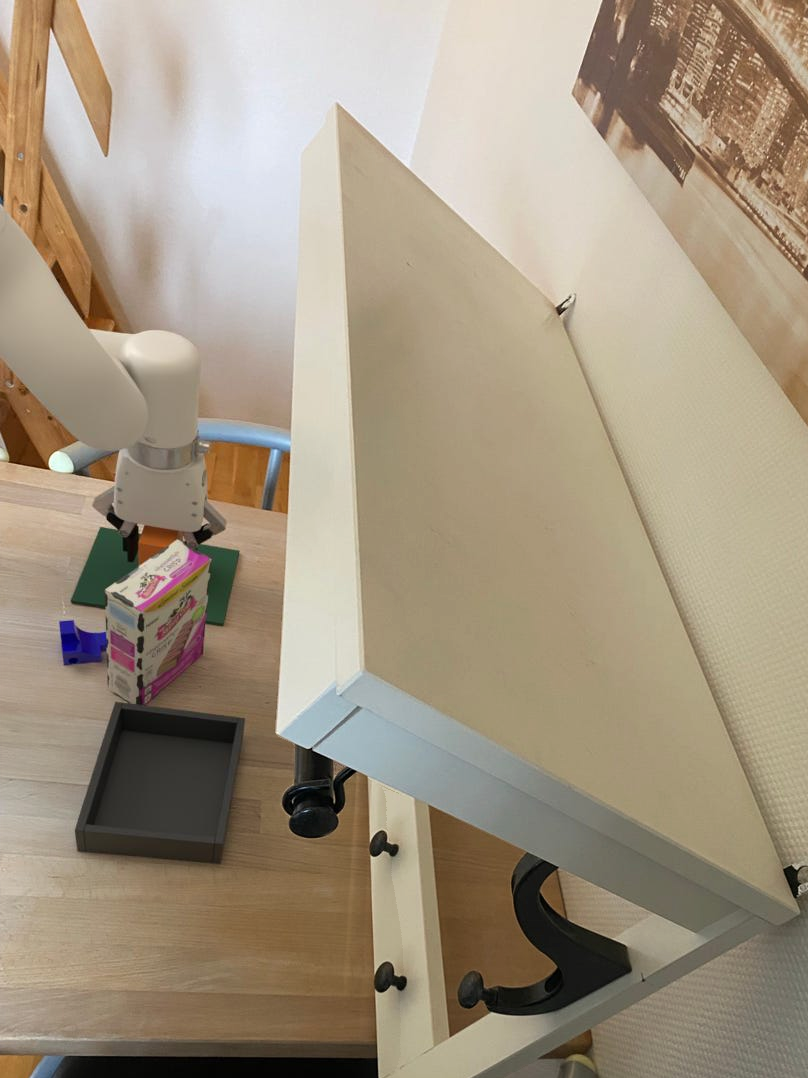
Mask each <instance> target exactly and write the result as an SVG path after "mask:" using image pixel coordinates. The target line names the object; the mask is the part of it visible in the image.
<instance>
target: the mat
mask: <svg viewBox="0 0 808 1078" xmlns="http://www.w3.org/2000/svg"><path fill="white" fill-rule="evenodd" d="M141 534H142V533H139V540H140V537H141ZM183 543H185V540H183ZM198 552H200V553H202V554H204V555H205V556H207V557H209V558H210V559H211V570H210V580H209V591H208V602H207V611H206V623H205V625H206V624H208V625H214V626H220V627H224V625H225V624H224V623H225V620H226V616H227V611H228V606H229V601H230V597H231V592H232V587H233V583H234V578H235V574H236V570H237V565H238V560H239V557H240V556H239V555H240V550H238V549H232V548H227V547H221V546H215V545H209V544H203V543H201V544H199V545H198ZM138 566H139V549H138V552H137V554H136V557H135V560H134V562H128V561H127V552H125V551H123V537H122V536H120V535H119V530H118V529H116V528H109V527H105V526H100V527H99V529H98V531H97V534H96V537H95V538H94V541H93V544H92V546H91V549H90V550H89V554H88V556H87V558H86V561H85V564H84V566H83V569H82V571H81V573H80V576H79V579H78V581H77V583H76V586H75V589H74V591H73V594H72V596H71V598H70V604H74V605H80V606H88V607H94V608H101V609H106V608H105V589H107V588H108V587H109V586H111V585H112V584H114V583H115V582H117V581H118V580H120V579H121V578H122V577H124V576H125V575H127V574H128V573H130V572H131V571H133V570H134V569H135V568H137V567H138Z"/></svg>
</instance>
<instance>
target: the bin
mask: <svg viewBox="0 0 808 1078" xmlns="http://www.w3.org/2000/svg"><path fill="white" fill-rule="evenodd" d="M245 724H246V718H245V717H240V716H239V717H238V716H231V715H223V714H217V713H206V712H200V711H194V710H193V711H192V710H186V709H185V710H183V709H177V708H169V707H160V706H153V705H151V706H150V705H147V704H146V705H138V704H130V703H129V702H120V701H115V702H114V704H113V707H112V710H111V713H110V717H109V719H108V722H107V726H106V730H105V733H104V736H103V739H102V743H101V745H100V749H99V751H98V755H97V758H96V761H95V764H94V768H93V770H92V774H91V778H90V780H89V783H88V787H87V789H86V793H85V795H84V798H83V799H84V800H83V801H82V802H83V803H82V805H81V809H80V812H79V815H78V818H77V821H76V825H75V828H74V837H75V844H76V851H77V852H80V853H89V854H100V855H113V856H122V857H123V856H125V857H137V858H147V859H158V860H169V861H182V862H192V863H193V862H194V863H205V864H215V865H221V863H222V859H223V855H224V854H223V853H224V847H225V842H226V837H227V836H226V835H227V830H228V824H229V818H230V814H231V808H232V802H233V797H234V791H235V785H236V778H237V773H238V768H239V763H240V756H241V752H242V746H243V740H244V733H245Z"/></svg>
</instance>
